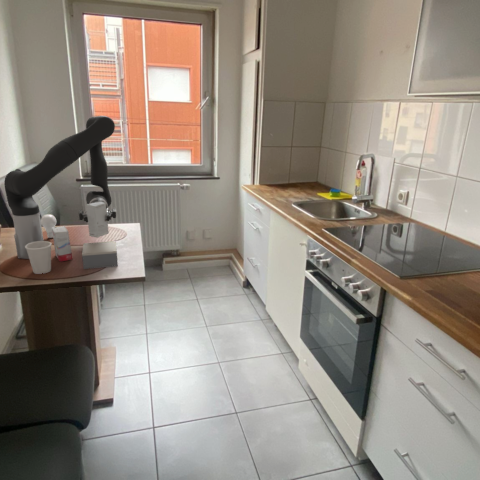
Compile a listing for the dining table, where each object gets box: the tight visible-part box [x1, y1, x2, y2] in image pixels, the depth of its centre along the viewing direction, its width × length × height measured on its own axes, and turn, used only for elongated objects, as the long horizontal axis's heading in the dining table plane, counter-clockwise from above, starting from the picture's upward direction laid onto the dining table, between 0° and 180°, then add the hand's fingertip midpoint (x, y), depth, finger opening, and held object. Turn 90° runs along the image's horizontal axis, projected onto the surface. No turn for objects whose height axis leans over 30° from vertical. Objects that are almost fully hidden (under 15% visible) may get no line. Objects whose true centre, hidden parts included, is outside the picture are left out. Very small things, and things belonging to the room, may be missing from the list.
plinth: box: [81, 240, 119, 270], centre depth 146 cm, size 12×12×6 cm
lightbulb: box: [40, 213, 57, 239], centre depth 170 cm, size 6×6×11 cm
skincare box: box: [85, 202, 110, 239], centre depth 141 cm, size 6×4×12 cm
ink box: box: [52, 225, 73, 262], centre depth 148 cm, size 9×5×12 cm, turn 33°
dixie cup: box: [25, 240, 52, 275], centre depth 135 cm, size 8×8×10 cm
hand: (97, 219), depth 140 cm, fingers closed on skincare box, 7 cm apart
